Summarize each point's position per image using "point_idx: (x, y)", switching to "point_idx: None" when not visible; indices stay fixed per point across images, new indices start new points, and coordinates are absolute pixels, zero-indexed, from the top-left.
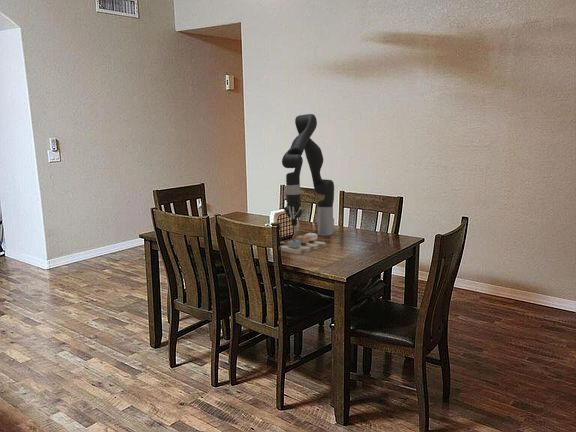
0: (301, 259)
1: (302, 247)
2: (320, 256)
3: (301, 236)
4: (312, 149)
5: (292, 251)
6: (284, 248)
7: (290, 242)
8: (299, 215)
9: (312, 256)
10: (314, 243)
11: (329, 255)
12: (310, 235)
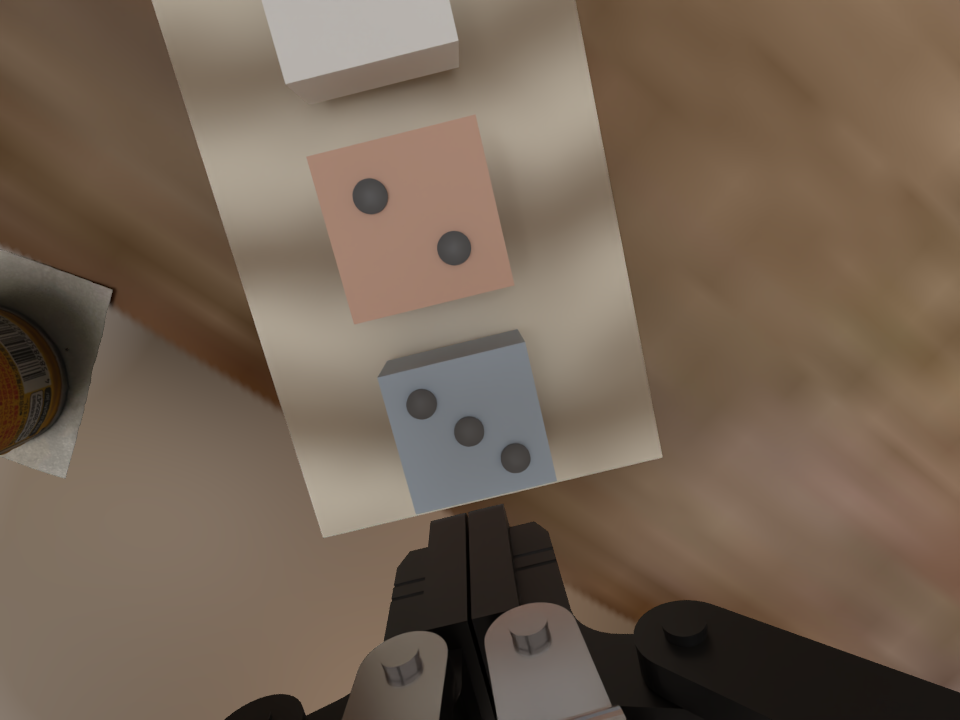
0: (818, 535)
1: (550, 326)
2: (884, 296)
3: (392, 236)
4: None
5: None
6: (409, 514)
7: (473, 497)
8: (755, 689)
9: (815, 370)
10: (472, 34)
11: (933, 177)
12: (429, 47)
